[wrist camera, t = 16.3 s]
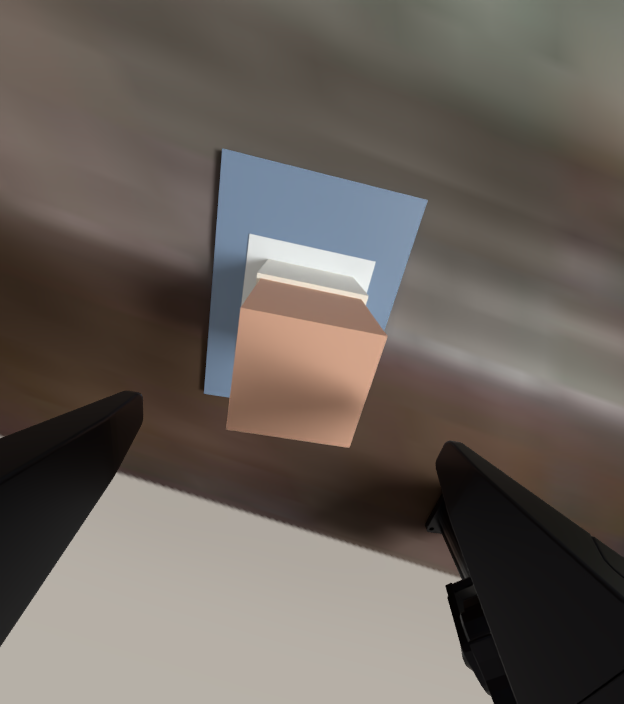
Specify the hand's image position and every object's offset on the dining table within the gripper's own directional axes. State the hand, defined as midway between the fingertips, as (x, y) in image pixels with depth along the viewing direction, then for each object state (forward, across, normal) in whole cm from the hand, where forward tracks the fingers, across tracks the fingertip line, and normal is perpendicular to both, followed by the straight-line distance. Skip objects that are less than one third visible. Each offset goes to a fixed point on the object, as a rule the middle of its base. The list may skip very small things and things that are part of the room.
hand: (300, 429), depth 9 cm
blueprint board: (+13, 0, 0) cm, 13 cm away
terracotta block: (+7, 0, 0) cm, 7 cm away
